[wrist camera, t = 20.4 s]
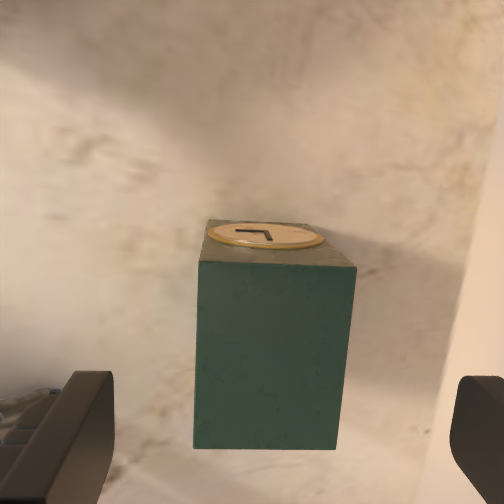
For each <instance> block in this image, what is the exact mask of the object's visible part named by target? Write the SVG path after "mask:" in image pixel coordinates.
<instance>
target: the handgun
mask: <svg viewBox="0 0 504 504" xmlns="http://www.w3.org/2000/svg"><path fill="white" fill-rule="evenodd" d="M60 393H61V392H60V389H57V390H54V392H53V391H52V390H49V389H42V390H37V391H35V392H33V393H31V394H30V395H28V396H26V397H22V398H13V399H5V400H0V443H1V440H2V439H3V437H4V436H5V435H6V433H7V432H8V431H9V429H12V425H13V424H14V423H15V421H16V420H17V419H18V418H19V416H20V415H21V414H22V412H23V411H24V410H25V408H27V407H28V406H30V405H31V404H33V403H34V402H36V401H37V400H39V399H40V398H42V397H43V396H44V395H46V394H60Z"/></svg>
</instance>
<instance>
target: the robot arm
mask: <svg viewBox="0 0 504 504" xmlns="http://www.w3.org/2000/svg"><path fill="white" fill-rule="evenodd" d="M114 440H115V422H114V381H113V374H112V372H111V371H75V372H74V373H73V374H72V376H71V377H70V379H69V380H68V382H67V384H66V385H65V387H64V388H63V390H62V391H61V393H60V394H46V395H44V396H43V397H42V398H40V399H39V400H37V401H36V402H34V403H33V404H31V405H30V406H28V407H27V408H25V410H24V411H23V412H22V414H21V415H20V416H19V418H18V419H17V420H16V421H15V423H14V424H13V425H12V429H9V431H8V432H7V433H6V435H5V436H4V437H3V439H2V440H1V443H0V504H97V501H98V499H99V496H100V493H101V490H102V487H103V484H104V481H105V479H106V476H107V473H108V470H109V467H110V464H111V460H112V456H113V449H114ZM450 447H451V452H452V455H453V457H454V459H455V461H456V463H457V464H458V466H459V467H460V468H461V470H462V471H463V473H464V474H465V475H466V477H467V478H468V479H469V480H470V482H471V483H472V484H473V486H474V487H475V488H476V490H477V491H478V492H479V494H480V495H481V496H482V497H483V499H484V500H485V501H486V503H487V504H504V379H503V378H501V377H499V376H464V377H463V378H462V379H461V381H460V382H459V385H458V390H457V397H456V401H455V407H454V413H453V418H452V424H451V430H450Z"/></svg>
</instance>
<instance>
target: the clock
mask: <svg viewBox="0 0 504 504" xmlns="http://www.w3.org/2000/svg"><path fill="white" fill-rule="evenodd" d="M356 274H357V267H356V266H355V265H353V264H352V263H351V262H350V261H349V260H348V259H347V258H345V257H344V256H343V255H342V254H341V253H340V252H338V251H337V250H336V249H335V248H334V247H333V246H332V245H330V244H329V243H328V242H327V241H326V240H325V239H323V238H322V236H320V235H319V234H318V233H317V232H315V231H314V230H313V229H312V228H311V227H310V226H308V225H307V224H293V223H272V222H251V221H229V220H208V223H207V227H206V232H205V236H204V241H203V245H202V250H201V254H200V259H199V267H198V300H197V332H196V364H195V397H194V429H193V448H194V449H268V450H336V444H337V436H338V427H339V419H340V410H341V402H342V393H343V385H344V376H345V368H346V359H347V350H348V342H349V333H350V325H351V316H352V308H353V299H354V291H355V282H356Z"/></svg>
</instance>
